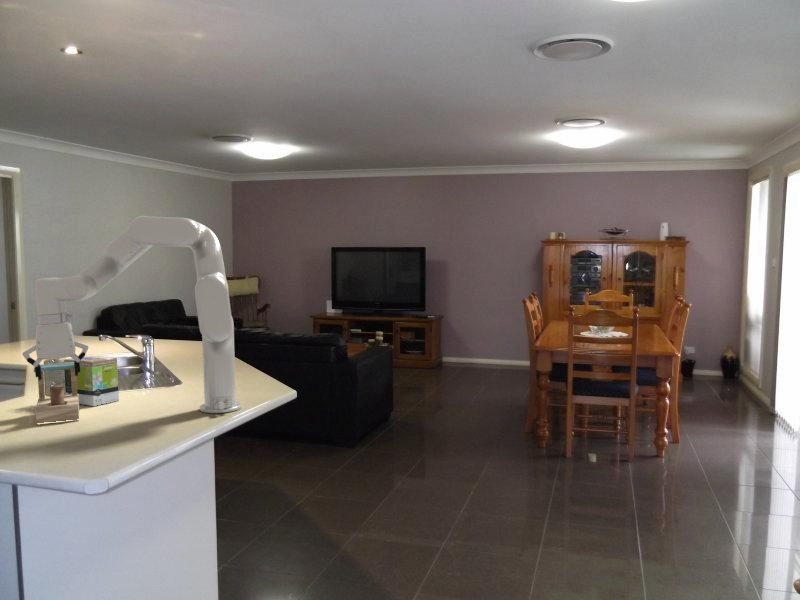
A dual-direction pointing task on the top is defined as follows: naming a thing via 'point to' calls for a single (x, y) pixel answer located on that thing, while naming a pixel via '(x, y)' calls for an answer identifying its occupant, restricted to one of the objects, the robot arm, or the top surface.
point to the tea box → (94, 380)
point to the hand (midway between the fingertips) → (58, 377)
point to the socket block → (71, 401)
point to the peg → (57, 395)
